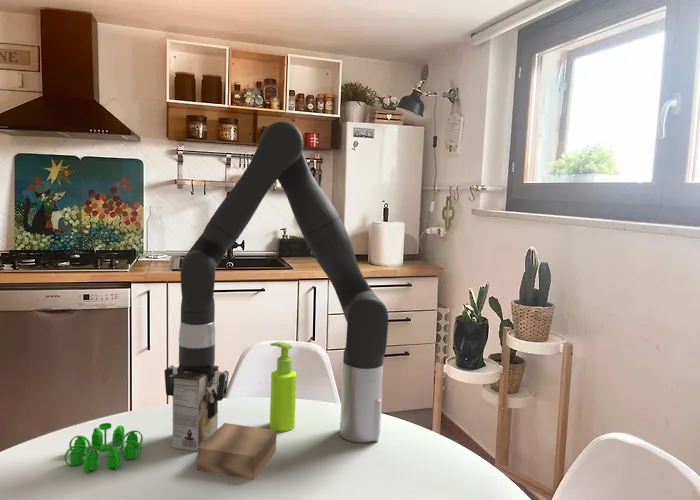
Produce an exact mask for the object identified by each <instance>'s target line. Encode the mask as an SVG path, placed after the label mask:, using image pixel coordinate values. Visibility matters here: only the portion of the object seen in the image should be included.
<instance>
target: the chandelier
mask: <svg viewBox="0 0 700 500" xmlns="http://www.w3.org/2000/svg"><path fill="white" fill-rule="evenodd" d="M111 428H112V423H110V422H104V423H101V424H99V427H94V428H93V432H92V434H91V442H90V440H89V439H88V438H87V437H86V436H85V435H75V436H74V437H73V438H71V440H70V441H69V445H68V446H69V448H68V449H67V450H66V452H65V454H64V462H65V464H66V465H67V466H69V467H73V466H77V465H81V464H83V471H84V473H85V474H86V473H87V474H89V473H90V472H91V471H93V470H95V469H97V467H98V458H99V455H100V454H101V453H108V455H107V466H108V468H109V469H114V471H115V470H118V469H119V466H120V465H121V456H122V457H123V459H125V460H133V461H134V460H137V459H139V457H140V456H141V454H142V451H143V450H142V446H141V445H142V443H143V440H144V436H143V434H142V433H141V432H140V431H138V430H131V431H128V432H127V433H125V428H124V426H123V425H117V427H116V428H115V429H114V430H113V434H112V437H111V438H112V440H111V441H110V442H109V443H108V444H107V431H108V430H110V429H111ZM103 431H104V434H103ZM137 433H138V434H139V435H140V442H139V440H138V439H139V438H138V434H137ZM76 438H77V439H76ZM74 439H75V440H74ZM125 439H126V440H125ZM73 440H74V444H73ZM125 443H126V444H125ZM72 444H73V445H72ZM111 444H112V445H111ZM124 444H125V447H124ZM87 446H88V448H87ZM118 446H120V447H119V448H118ZM123 449H124V451H125V452H124V451H123ZM137 449H139V453H137V451H138V450H137ZM69 452H70V454H69ZM68 454H69V455H70V463H68V462H67V456H68ZM120 454H121V455H120ZM137 454H138V455H137ZM84 456H85V457H84Z"/></svg>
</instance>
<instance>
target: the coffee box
mask: <svg viewBox="0 0 700 500" xmlns="http://www.w3.org/2000/svg"><path fill="white" fill-rule="evenodd" d="M214 367H215V369H216V371H219V365H214ZM218 383H219V382H217V379H216V377H215V376H214V377H213V379H211V381H210V382H209V381H208V374H207V373H200V372H189V371H180V372H179V373H177V374H176V375H174V376H173V396H172V448H173V449H180V450H187V451H193V452H198V447H199V446H200V445H201V444H202V443H203V442H204V441H205V440H206V439H208V438H209V437H210V436H211V435H212V434H213V433H214V432H215V431H216V430H217V429H218V422H219V421H218V415H219V412H218V410H219V407H218V406H219V404H218V405H217V414H216V415H215V416H214V417H213V418H212V419H208V403H209V400H208V393H207V387H208V388H210V387H211V386H212V385H213V384H214V385H215V390H216V392H217V393H218ZM211 392H212V391H211Z"/></svg>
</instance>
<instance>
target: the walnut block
mask: <svg viewBox="0 0 700 500" xmlns="http://www.w3.org/2000/svg"><path fill="white" fill-rule="evenodd" d="M277 432H278V431H276V430H272V429H270V428H268V429H267V428H261V427H257V426H256V427H255V426H249V425H243V424H242V425H240V424H237V423H236V424H234V423H229V422H223V424H222V425H221V426H220V427H218V428H217V430H216V431H215V432H214V433H213V434H212V435H211V436H210V437H209V438H208V439H206V440H205V441H204V442H203V443H202V444H201V445H200V446H199V447H198V451H197V457H196V458H197V461H196V462H197V464H196V466H197V467H196V470H197V471H201V472H205V473H212V474H217V475H224V476H229V477H235V478H241V479H247V480H252V481H253V480H254V481H255V479H256V478H257V477H258V475H259V474H260V473H261V471H262V470H263V469H264V467H266V465H267V464H268V463H269V461H270V460H271V459H272V457H273V456H274V454H275V453H276V451H277Z"/></svg>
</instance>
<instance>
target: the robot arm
mask: <svg viewBox="0 0 700 500" xmlns="http://www.w3.org/2000/svg"><path fill="white" fill-rule="evenodd" d="M303 150H304V137H303V135H302V132H301V131H300V129H299V128H298V127H297V126H296V125H295V124H293V123H292V122H288V121H276V122H273V123H271V124H269V125H268V126H267V127H266V128H265V129H264V130H263V131H262V133H261V135H260V138H259V143H258V146H257V148H256V150H255V153H254V154H253V157H252V158H251V160H250V162H249V164H248V166H247V167H246V169H245V170H244V172H243V173H242V175H241V176H240V178H239V180H238V181H237V182H236V184H235V185H234V186H233V187H232V189H231V190H230V191H229V192H228V194H227V195H226V197H225V198H224V199H223V201H222V202H221V203H220V204H219V206H218V207H217V209H216V211H215V212H214V214H213V215H212V217H211V218H210V219H209V221H208V222H207V224H206V225H205V228H204V230H203V232H202V233H201V234H200V236H199V237H198V238H197V240H196V241H195V242H194V244H192V247H190V249H188V251H187V253H186V254H185V255H184V257H183V259H182V261H181V264H180V290H181V303H180V323H179V324H180V325H179V330H178V331H179V333H178V366H174V365H170V366H168V367H166V368H165V369H164V384H165V395H166V396H168V397H169V396H171V397H173V376H174V375H176V374H177V373H179V372H180V371H189V372H200V373H207V374H208V381H209V382H210V381H211V379H213V377H214V376H215V377H216V379H217V382H218V393H217V392H216V390H215V385H214V384H213V385H212V386H211V387H210V388H208V387H207V393H208V400H209V403H208V419H212V418H213V417H214V416H215V415H216V414H217V405H218V406H219V401H220V402H221V401H222V400H224V398H225V397H226V396H227V392H228V384H229V371H228V370H223V371H219V370H218V371H216V369H215V367H214V366H215V361H216V359H215V358H216V356H215V355H216V326H215V315H216V314H215V311H216V310H215V307H216V306H215V305H216V304H215V298H214V295H215V294H214V292H215V283H216V282H215V279H216V278H215V277H216V269H217V268H218V266H219V264H220V263H221V261H222V259H223V258H224V257H225V255H226V253H227V252H228V250H229V249H231V248H232V247H233V245H234V244H235V243H236V242H237V240H238V239H239V237H240V236H241V235H242V233H243V232H244V230H245V228H247V226H248V224H249V223H250V222H251V220H252V218H253V216H254V214H255V213H256V211H257V210H258V207H259V206H260V204H261V202H262V201H263V199H264V198H265V196H266V195H267V194H268V192H269V190H270V189H271V188H272V186H273V185H274V184H275V182H276V181H278V183H279V184H280V186H281V188H282V189H283V192H284V193H285V195H286V197H287V200H288V203H289V206H290V209H291V211H292V213H293V216H294V219H295V221H296V224H297V226H298V227H299V230H300V232H301V235H302V236H303V239H304V241H305V243H306V245H307V246H308V249H309V250H310V252H311V253H312V255H313V257H314V258H315V260H316V262H317V264H319V266H320V268H321V269H322V271H323V272H324V273H325V275H326V276H327V277H328V279H329V280H330V282H331V285H332V287H333V289H334V291H335V294H336V296H337V299H338V301H339V304H340V306H341V309H342V312H343V316H344V319H345V322H346V324H347V325H346V337H345V338H346V340H345V341H346V342H345V348H344V349H343V357H342V358H343V360H342V361H343V362H342V379H341V381H342V382H341V397H340V399H341V403H340V418H339V419H340V422H339V436H340V437H342V438H343V439H344V440H346V441H349V442H353V443H359V444H362V443H371V442H379V438H380V433H381V424H382V406H383V405H382V404H383V391H382V388H383V374H384V373H383V372H384V371H383V370H384V359H385V358H384V357H385V355H386V352H387V343H388V332H389V329H388V328H389V311H388V308H387V306H386V305H385V303H384V302H383V301H382V300H381V299H380V298H379V297H378V296H377V294H375V293H374V291H373V290H372V288H371V287H370V285H369V283H368V282H367V280H366V278H365V276H364V275H363V273H362V271H361V269H360V267H359V264H358V262H357V258H356V254H355V250H354V247H353V244H352V240H351V238H350V236H349V234H348V231H347V229H346V227H345V224H344V223H343V221H342V218H341V217H340V215H339V213H338V211H337V209H336V208H335V206H334V205H333V204H332V202H331V200H330V199H329V197H328V195H326V193H325V192H324V190H323V189H322V188H321V187H320V185H319V184H318V182H317V180H316V179H315V178H314V176H313V174H312V170H310V169H311V168H310V167H309V164H308V162H307V160H306V158H305V154H304V151H303ZM211 391H212V392H211Z"/></svg>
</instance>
